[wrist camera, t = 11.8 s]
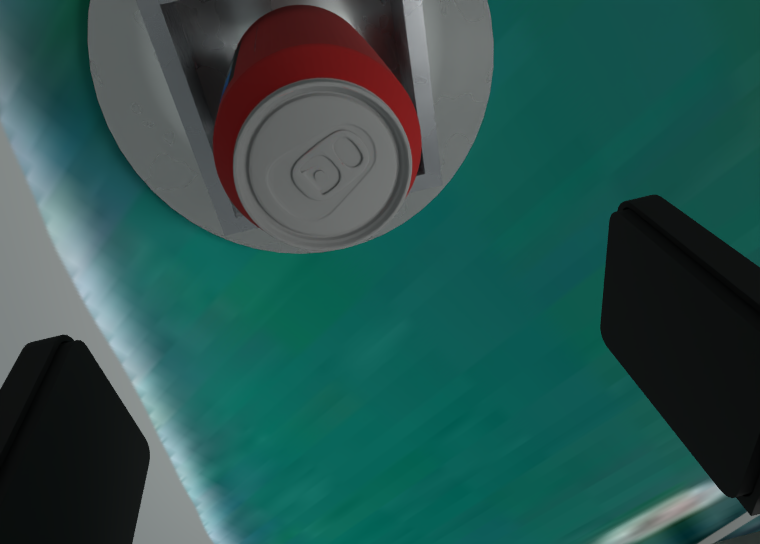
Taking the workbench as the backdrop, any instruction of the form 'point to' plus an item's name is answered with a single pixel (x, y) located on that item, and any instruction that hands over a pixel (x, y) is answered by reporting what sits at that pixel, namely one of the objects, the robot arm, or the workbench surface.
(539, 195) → the workbench surface
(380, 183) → the beverage can
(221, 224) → the rosette plate
